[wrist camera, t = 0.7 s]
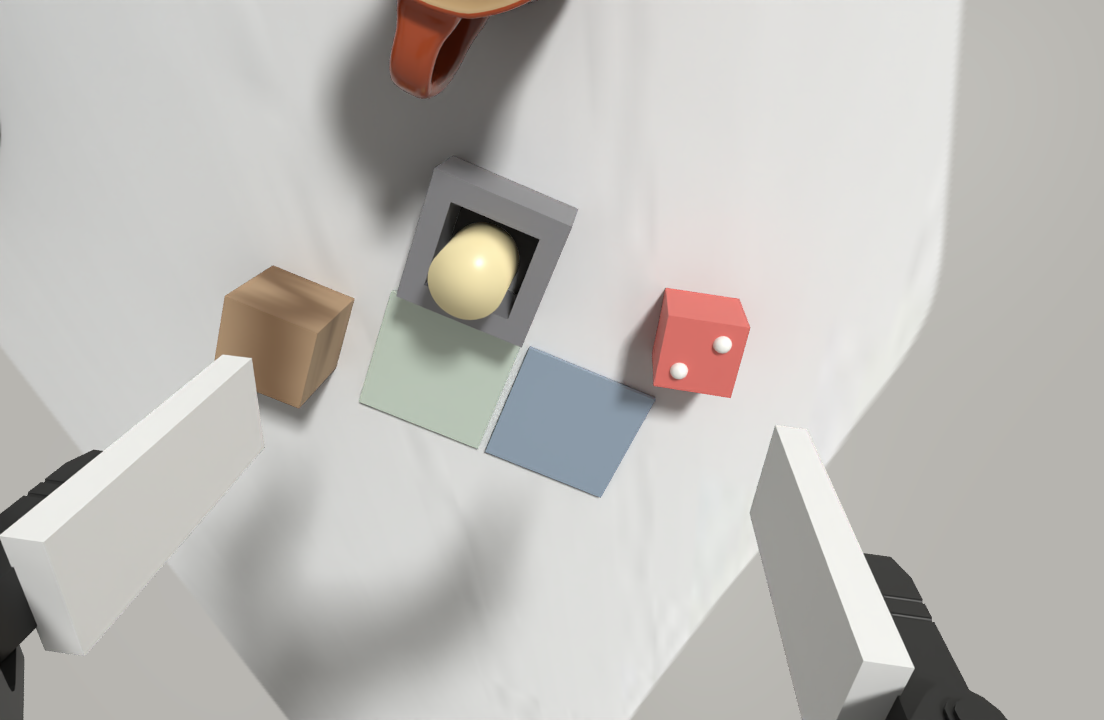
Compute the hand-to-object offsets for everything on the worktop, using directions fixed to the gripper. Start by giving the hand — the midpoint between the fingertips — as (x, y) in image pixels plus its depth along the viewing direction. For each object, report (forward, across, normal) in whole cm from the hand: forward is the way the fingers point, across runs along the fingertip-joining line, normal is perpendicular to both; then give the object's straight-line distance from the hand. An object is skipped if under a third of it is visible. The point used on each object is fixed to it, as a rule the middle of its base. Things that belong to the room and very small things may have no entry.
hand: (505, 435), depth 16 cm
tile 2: (+20, +1, -12) cm, 24 cm away
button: (+18, -4, -2) cm, 18 cm away
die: (+20, +8, -5) cm, 22 cm away
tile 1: (+20, -7, -10) cm, 24 cm away
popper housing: (+20, -4, -2) cm, 21 cm away
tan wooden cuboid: (+21, -15, -8) cm, 27 cm away
